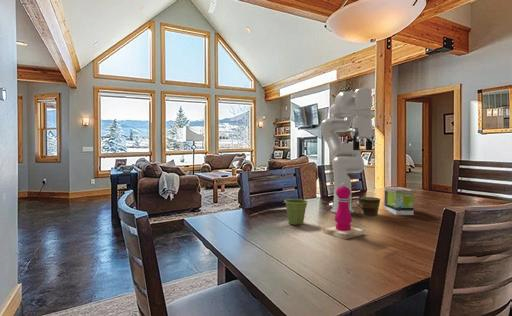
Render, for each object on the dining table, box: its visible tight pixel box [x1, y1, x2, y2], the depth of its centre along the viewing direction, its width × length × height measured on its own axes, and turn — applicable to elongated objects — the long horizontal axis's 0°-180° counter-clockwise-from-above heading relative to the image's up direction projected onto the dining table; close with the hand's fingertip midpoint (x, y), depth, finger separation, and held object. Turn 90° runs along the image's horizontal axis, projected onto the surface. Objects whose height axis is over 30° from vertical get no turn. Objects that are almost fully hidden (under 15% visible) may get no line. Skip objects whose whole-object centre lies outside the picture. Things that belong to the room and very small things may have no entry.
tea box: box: [384, 186, 415, 216], centre depth 161 cm, size 15×10×15 cm, turn 179°
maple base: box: [322, 224, 365, 240], centre depth 123 cm, size 12×12×2 cm
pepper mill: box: [334, 183, 353, 231], centre depth 123 cm, size 7×7×20 cm
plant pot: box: [284, 198, 309, 226], centre depth 141 cm, size 12×12×11 cm
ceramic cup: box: [354, 196, 381, 217], centre depth 155 cm, size 13×10×10 cm
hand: (362, 150), depth 136 cm, fingers open, 9 cm apart
